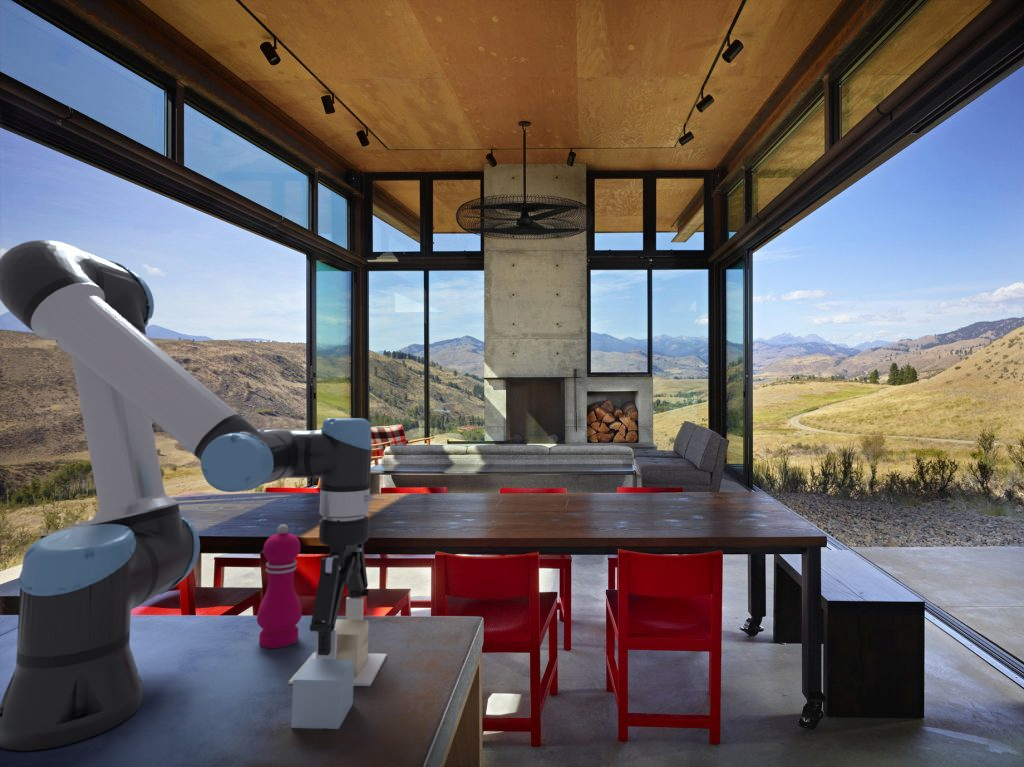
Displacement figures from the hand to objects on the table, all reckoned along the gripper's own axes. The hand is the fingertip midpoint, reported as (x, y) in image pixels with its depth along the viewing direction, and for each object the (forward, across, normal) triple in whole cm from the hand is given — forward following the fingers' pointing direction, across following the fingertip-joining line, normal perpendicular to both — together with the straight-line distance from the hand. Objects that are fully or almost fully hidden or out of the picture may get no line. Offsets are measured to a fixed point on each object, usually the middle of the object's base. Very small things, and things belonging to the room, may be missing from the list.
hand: (340, 655), depth 87 cm
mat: (+2, 0, 0) cm, 2 cm away
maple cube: (+2, 0, 0) cm, 2 cm away
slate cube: (+2, -13, -2) cm, 13 cm away
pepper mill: (+2, +10, +14) cm, 17 cm away
